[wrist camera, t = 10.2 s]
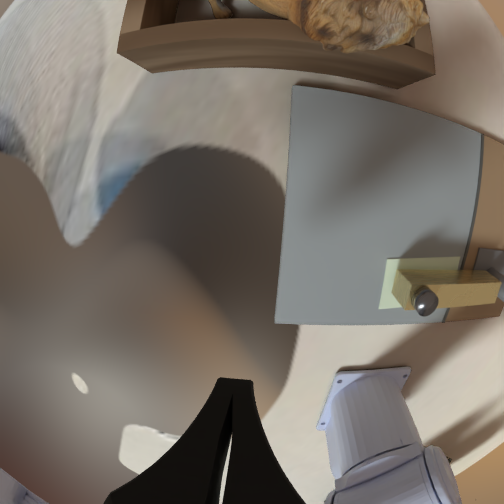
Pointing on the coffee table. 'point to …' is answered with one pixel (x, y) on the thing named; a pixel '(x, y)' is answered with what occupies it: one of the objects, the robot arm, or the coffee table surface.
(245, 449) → the robot arm
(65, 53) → the coffee table surface
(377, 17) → the lion figurine
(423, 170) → the door board
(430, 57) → the display tray
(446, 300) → the latch bar
